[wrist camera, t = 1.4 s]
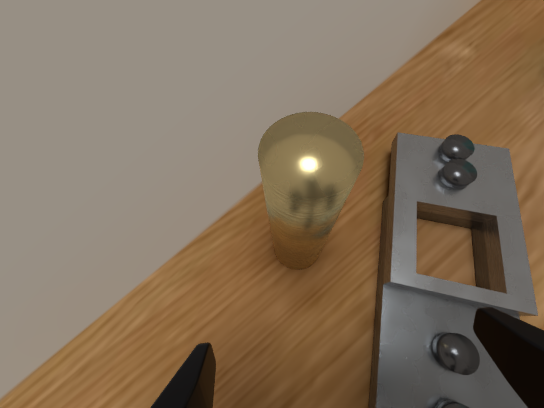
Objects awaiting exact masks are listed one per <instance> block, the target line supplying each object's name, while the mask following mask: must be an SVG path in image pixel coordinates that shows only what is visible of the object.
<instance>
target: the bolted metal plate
mask: <svg viewBox="0 0 544 408" xmlns="http://www.w3.org/2000/svg"><path fill="white" fill-rule="evenodd" d="M417 218H420V219H425V220H430V221H435V222H441V223H446V224H451V225H456V226H461V227H467V228H471V229H472V241H473V252H474V264H475V276H476V287H475V286H470V285H466V284H461V283H457V282H452V281H448V280H443V279H439V278H434V277H430V276H425V275H421V274H416V230H417ZM483 307H493V308H495V309H497V310H499V311H502V312H504V313H506V314H508V315H510V316H513V317H515V318H517V319H519V320H520V318H519V316H538V313H537V307H536V301H535V295H534V290H533V284H532V278H531V272H530V267H529V261H528V255H527V249H526V244H525V238H524V232H523V227H522V221H521V215H520V209H519V204H518V198H517V192H516V186H515V181H514V175H513V169H512V163H511V158H510V152H509V149H507V148H500V147H493V146H487V145H480V144H473V143H472V142H471V140H469V139H468V138H466V137H465V136H462V135H450V136H448V137H447V138H446V139H439V138H432V137H425V136H418V135H411V134H405V133H397V135H396V136H395V138H394V140H393V142H392V148H391V165H390V182H389V195H388V196H387V198H386V199H385V200H384V201H383V208H382V223H381V237H380V252H379V266H378V280H377V295H376V309H375V323H374V338H373V352H372V367H371V381H370V395H369V408H528V407H527V406H526V405H525V404H524V402H523V401H522V400H521V399H520V397H519V396H518V395H517V394H516V392H515V391H514V390H513V388H512V387H511V386H510V384H509V383H508V382H507V380H506V379H505V378H504V376H503V375H502V373H501V372H500V370H499V369H498V367H497V366H496V364H495V363H494V361H493V360H492V359H491V357H490V356H489V354H488V353H487V351H486V350H485V348H484V347H483V345H482V344H481V342H480V341H479V339H478V338H477V336H476V335H475V333H474V330H473V322H474V318H475V313H476V310H477V309H478V308H483Z"/></svg>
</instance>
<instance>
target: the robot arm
mask: <svg viewBox="0 0 544 408" xmlns="http://www.w3.org/2000/svg"><path fill="white" fill-rule="evenodd" d="M473 330H474V333H475V335H476V336H477V338H478V339H479V341H480V342H481V344H482V345H483V347H484V348H485V350H486V351H487V353H488V354H489V356H490V357H491V359H492V360H493V361H494V363H495V364H496V366H497V367H498V369H499V370H500V372H501V373H502V375H503V376H504V378H505V379H506V380H507V382H508V383H509V384H510V386H511V387H512V388H513V390H514V391H515V392H516V394H517V395H518V396H519V397H520V399H521V400H522V401H523V402H524V404H525V405H526V406H527V407H528V408H544V330H541V329H539V328H537V327H535V326H533V325H530V324H528V323H526V322H524V321H521V320H519V319H517V318H515V317H513V316H510V315H508V314H506V313H504V312H502V311H499V310H497V309H495V308H493V307H483V308H478V309H477V310H476V313H475V318H474V322H473ZM215 371H216V361H215V356H214V353H213V349H212V346H211V344H210V343H201V344H198V345H197V346H196V347H195V348H194V350H193V351H192V352H191V354H190V355H189V357H188V358H187V359H186V361H185V362H184V363H183V365H182V366H181V367H180V369H179V370H178V371H177V373H176V374H175V375H174V377H173V378H172V379H171V381H170V382H169V383H168V385H167V386H166V387H165V389H164V390H163V392H162V393H161V394H160V396H159V397H158V398H157V400H156V401H155V402H154V404H153V405H152V406H151V408H213V396H214V383H215Z"/></svg>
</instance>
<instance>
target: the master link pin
mask: <svg viewBox="0 0 544 408" xmlns="http://www.w3.org/2000/svg"><path fill="white" fill-rule="evenodd" d="M258 159H259V166H260V171H261V177H262V183H263V189H264V194H265V200H266V206H267V212H268V217H269V223H270V229H271V235H272V240H273V246H274V251H275V255H276V257H277V258H278V260H279V261H280V262H281V263H282V264H283V265H285V266H286V267H288V268H291V269H304V268H307V267H309V266H311V265H312V264H313V263H314V262H315V261H316V260H317V258H318V256H319V254H320V252H321V250H322V248H323V246H324V244H325V242H326V240H327V238H328V236H329V234H330V232H331V230H332V228H333V226H334V224H335V222H336V220H337V218H338V216H339V214H340V212H341V210H342V208H343V206H344V203H345V201H346V199H347V197H348V195H349V193H350V191H351V189H352V187H353V185H354V183H355V181H356V179H357V177H358V175H359V173H360V171H361V168H362V165H363V160H364V152H363V147H362V144H361V141H360V139H359V137H358V136H357V134H356V133H355V132H354V130H353V129H352V128H351V127H350V126H348V125H347V124H346V123H344V122H343V121H341V120H340V119H338V118H336V117H333V116H331V115H327V114H323V113H318V112H302V113H296V114H292V115H289V116H286V117H284V118H282V119H280V120H278V121H277V122H275V123H274V124H273V125H272V126H270V127H269V129H268V130H267V131H266V132H265V133H264V135H263V137H262V139H261V141H260V144H259V148H258Z"/></svg>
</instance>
